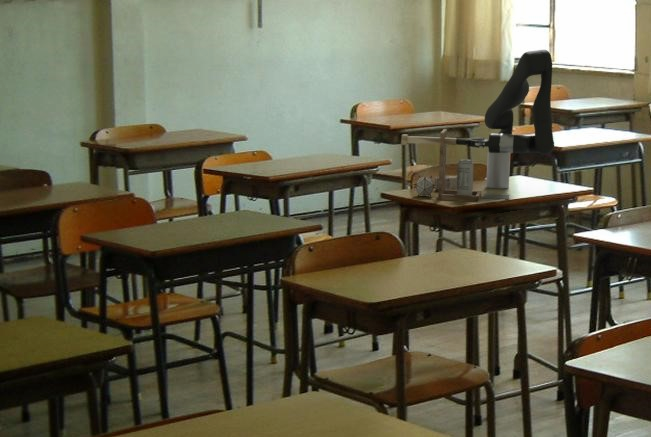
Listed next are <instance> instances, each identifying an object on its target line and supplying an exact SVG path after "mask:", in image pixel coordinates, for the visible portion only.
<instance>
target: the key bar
mask: <svg viewBox="0 0 651 437" xmlns="http://www.w3.org/2000/svg"><path fill="white" fill-rule="evenodd" d="M456 139H458V138H457V137H447V138H445V140H444V145H446V146H447V145H448V146H457V144H456ZM400 143H401V145H402V146H407V145H408V144H417V145H418V144H420V145H421V144H423V145H440V137H439V136H438V137H437V136H436V137H435V136H413V135H409V133H408V134H405V133H404V134H401V142H400Z"/></svg>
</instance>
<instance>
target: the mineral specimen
mask: <svg viewBox="0 0 651 437" xmlns="http://www.w3.org/2000/svg"><path fill="white" fill-rule="evenodd" d="M434 185H435V186H434V187H435V188H434V189H435V190H436V191H439V175H438V176H435V178H434ZM445 190H457V174H456V175H447V174H445Z"/></svg>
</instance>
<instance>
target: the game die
mask: <svg viewBox="0 0 651 437" xmlns="http://www.w3.org/2000/svg"><path fill="white" fill-rule="evenodd" d="M417 176H418V179H417V181H416V183H414V184H413V185H414V189H415V190H416V192H417V197H420V196H429V197H430V198H432V195H431V194H432V192H433V191H434V189H435V183H434V182H433V180H432V178H433V175H431V176H429V177H428V176H427V177H424V176H423V177H422V176H420V175H417Z"/></svg>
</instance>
